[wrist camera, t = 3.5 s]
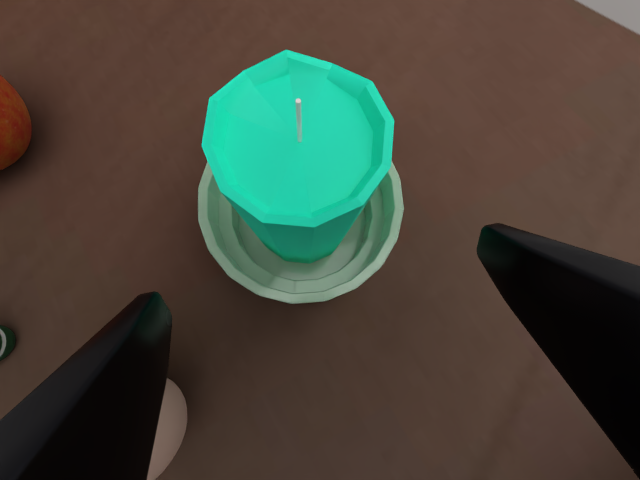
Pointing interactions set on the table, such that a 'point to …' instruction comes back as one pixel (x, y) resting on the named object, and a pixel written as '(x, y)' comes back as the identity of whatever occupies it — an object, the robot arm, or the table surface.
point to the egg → (168, 429)
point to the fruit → (12, 125)
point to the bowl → (292, 277)
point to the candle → (298, 151)
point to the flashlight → (6, 341)
